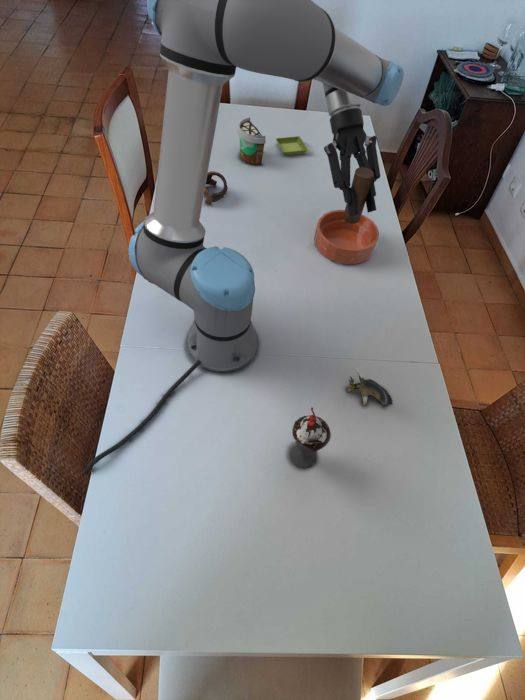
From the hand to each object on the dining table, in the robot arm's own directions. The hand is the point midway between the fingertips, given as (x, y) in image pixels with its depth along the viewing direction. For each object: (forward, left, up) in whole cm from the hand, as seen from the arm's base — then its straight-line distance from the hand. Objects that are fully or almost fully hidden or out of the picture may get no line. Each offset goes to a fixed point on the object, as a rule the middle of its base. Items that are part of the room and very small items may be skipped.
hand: (363, 213), depth 111 cm
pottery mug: (+10, +44, -13) cm, 47 cm away
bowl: (+3, +2, -13) cm, 14 cm away
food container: (+33, +39, -13) cm, 53 cm away
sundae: (-60, -1, -13) cm, 62 cm away
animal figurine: (-43, -11, -13) cm, 46 cm away
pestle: (+3, +2, -4) cm, 6 cm away
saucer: (+44, +27, -13) cm, 53 cm away
